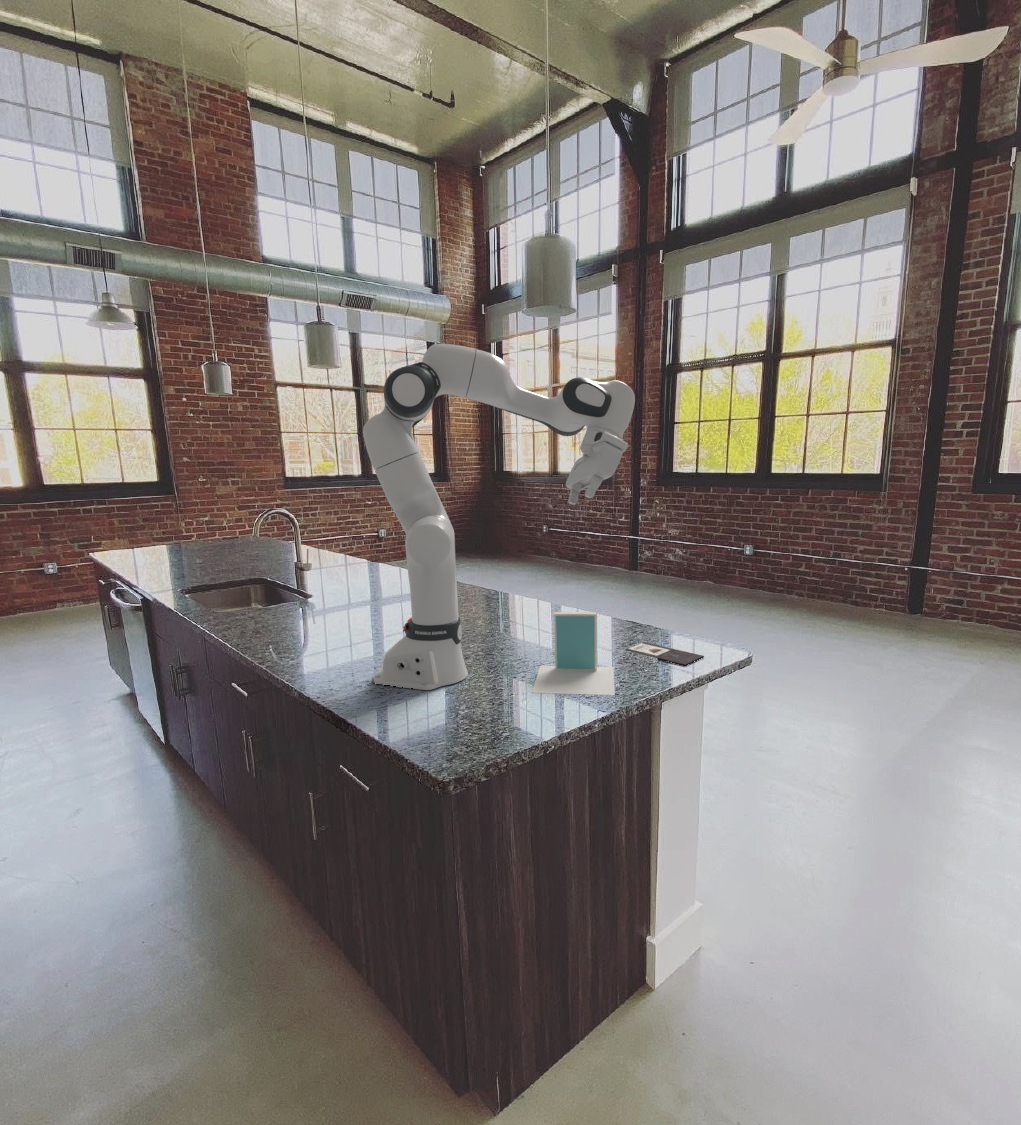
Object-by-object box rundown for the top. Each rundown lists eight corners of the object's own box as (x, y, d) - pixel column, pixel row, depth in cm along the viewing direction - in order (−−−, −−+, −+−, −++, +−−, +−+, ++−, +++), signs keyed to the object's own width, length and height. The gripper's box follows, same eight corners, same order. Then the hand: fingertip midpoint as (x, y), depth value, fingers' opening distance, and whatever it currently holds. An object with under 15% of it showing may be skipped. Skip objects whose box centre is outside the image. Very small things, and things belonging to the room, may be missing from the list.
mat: (531, 694, 132) (531, 692, 131) (540, 667, 149) (540, 665, 149) (614, 697, 129) (614, 695, 129) (613, 669, 146) (613, 667, 146)
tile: (555, 670, 145) (554, 614, 143) (556, 667, 147) (554, 612, 145) (596, 671, 144) (596, 614, 141) (597, 668, 146) (596, 612, 144)
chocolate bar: (685, 664, 146) (624, 649, 159) (685, 668, 146) (624, 653, 159) (704, 655, 152) (644, 642, 165) (704, 659, 152) (644, 645, 166)
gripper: (571, 452, 150) (551, 501, 147) (607, 429, 130) (586, 486, 128) (592, 463, 151) (573, 512, 149) (632, 442, 132) (611, 498, 129)
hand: (579, 500), depth 138 cm, fingers open, 8 cm apart
